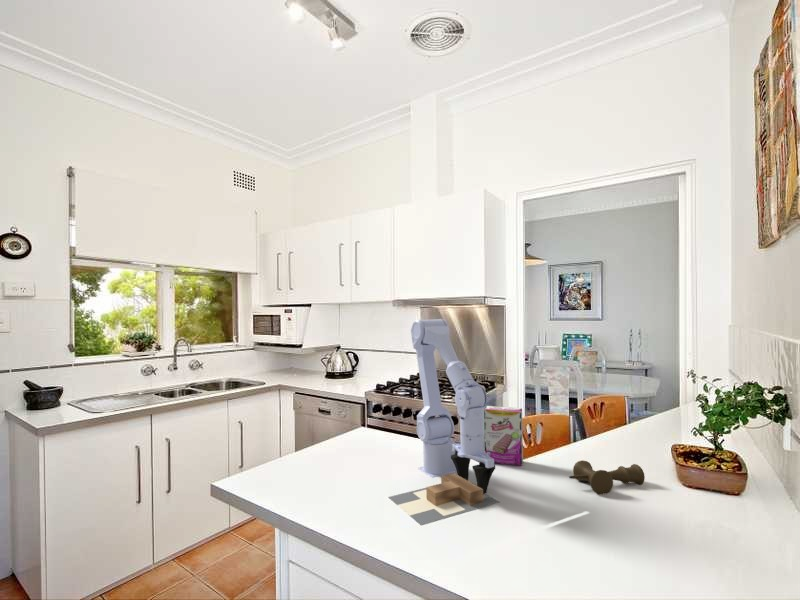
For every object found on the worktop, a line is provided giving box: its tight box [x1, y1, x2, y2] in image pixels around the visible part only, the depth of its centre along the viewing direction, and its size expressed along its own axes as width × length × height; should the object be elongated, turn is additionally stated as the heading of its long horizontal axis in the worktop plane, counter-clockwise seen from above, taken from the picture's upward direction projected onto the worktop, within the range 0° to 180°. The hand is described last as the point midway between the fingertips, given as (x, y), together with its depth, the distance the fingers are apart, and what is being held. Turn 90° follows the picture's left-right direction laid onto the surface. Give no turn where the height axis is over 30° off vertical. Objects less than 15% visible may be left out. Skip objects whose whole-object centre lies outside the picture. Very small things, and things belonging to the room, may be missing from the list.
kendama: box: [568, 459, 646, 495], centre depth 110 cm, size 6×10×20 cm
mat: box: [388, 487, 500, 526], centre depth 102 cm, size 22×16×1 cm
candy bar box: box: [483, 405, 524, 467], centre depth 129 cm, size 11×5×16 cm, turn 71°
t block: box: [425, 472, 483, 506], centre depth 103 cm, size 11×12×3 cm
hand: (472, 487), depth 107 cm, fingers open, 7 cm apart
